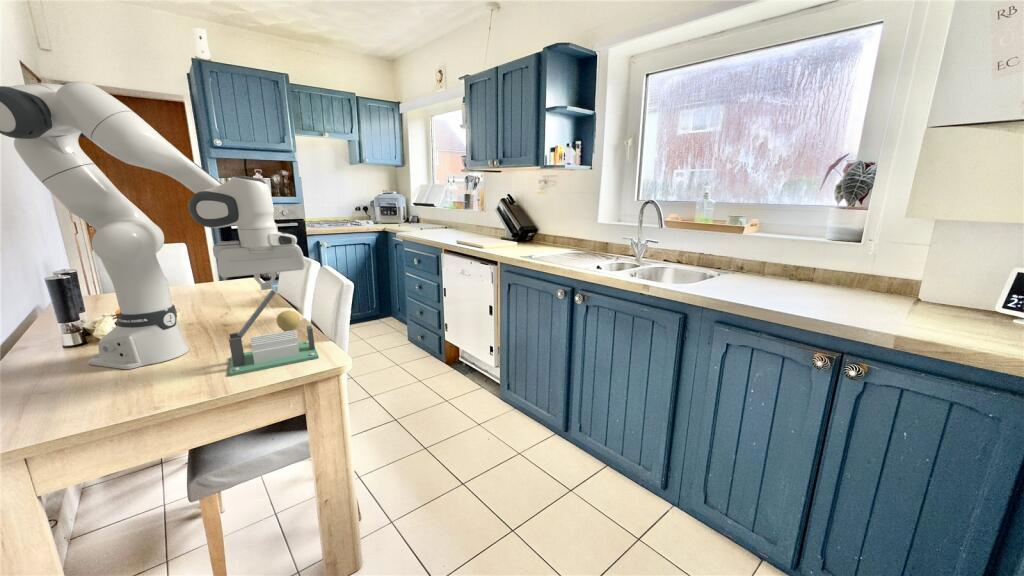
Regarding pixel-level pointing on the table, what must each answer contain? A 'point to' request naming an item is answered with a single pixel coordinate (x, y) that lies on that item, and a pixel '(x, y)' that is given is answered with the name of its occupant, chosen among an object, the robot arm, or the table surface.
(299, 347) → the board
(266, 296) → the strap
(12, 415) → the table surface
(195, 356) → the table surface
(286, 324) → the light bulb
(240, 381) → the table surface
